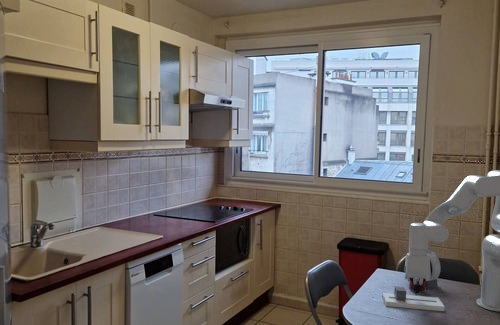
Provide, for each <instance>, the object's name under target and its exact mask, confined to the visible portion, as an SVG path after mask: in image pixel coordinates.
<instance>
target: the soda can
mask: <svg viewBox="0 0 500 325" xmlns="http://www.w3.org/2000/svg"><path fill="white" fill-rule="evenodd" d="M416 282H417V283H418V278H416ZM425 287H426V281H425V282H424V283H422V285H421V291H420V294H421V293H424V292H426V288H425ZM408 289H409V290H410V291H412V292H414V291H413V283H412V282H411V281H410V280H409V281H408ZM414 293H415V292H414Z"/></svg>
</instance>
